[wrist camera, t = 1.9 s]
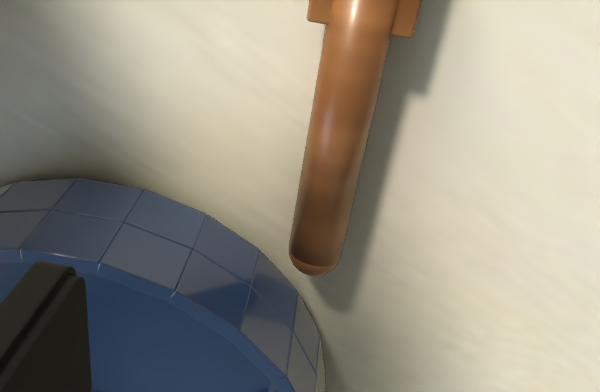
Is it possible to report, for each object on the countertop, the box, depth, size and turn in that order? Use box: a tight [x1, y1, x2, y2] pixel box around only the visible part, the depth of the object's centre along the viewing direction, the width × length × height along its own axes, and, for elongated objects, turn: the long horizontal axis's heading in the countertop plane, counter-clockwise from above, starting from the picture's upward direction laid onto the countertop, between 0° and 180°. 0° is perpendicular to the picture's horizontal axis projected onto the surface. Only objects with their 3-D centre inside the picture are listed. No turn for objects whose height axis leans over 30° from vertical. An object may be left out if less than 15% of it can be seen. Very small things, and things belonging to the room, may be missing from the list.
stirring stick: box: [289, 0, 422, 276], centre depth 19 cm, size 14×3×2 cm, turn 172°
